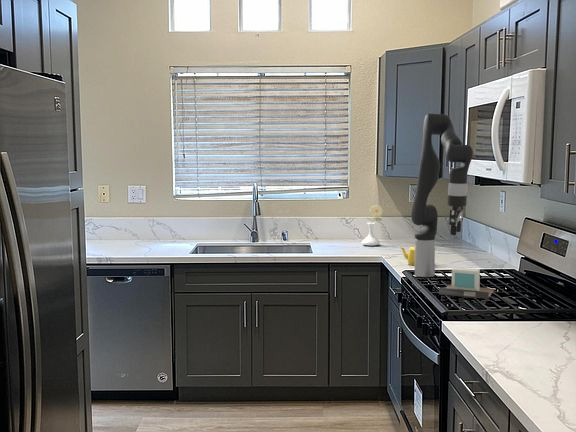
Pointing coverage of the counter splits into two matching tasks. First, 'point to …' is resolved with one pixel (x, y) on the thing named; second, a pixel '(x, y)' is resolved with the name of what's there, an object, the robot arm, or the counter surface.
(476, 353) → the counter surface
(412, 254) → the teapot
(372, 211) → the flower in vase
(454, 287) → the carton
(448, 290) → the shelf plank
